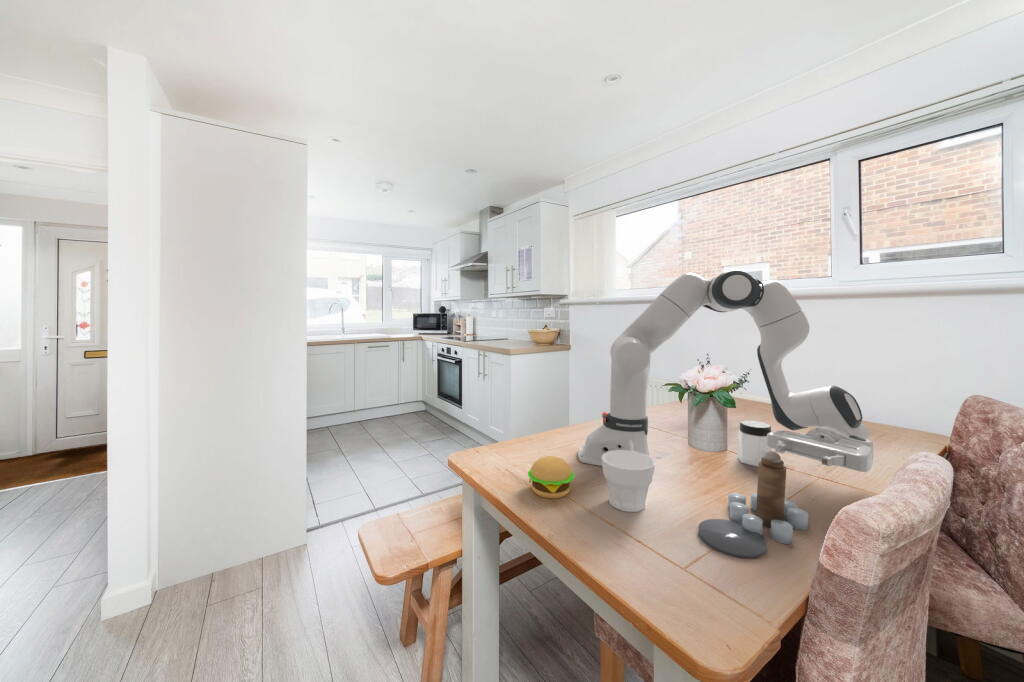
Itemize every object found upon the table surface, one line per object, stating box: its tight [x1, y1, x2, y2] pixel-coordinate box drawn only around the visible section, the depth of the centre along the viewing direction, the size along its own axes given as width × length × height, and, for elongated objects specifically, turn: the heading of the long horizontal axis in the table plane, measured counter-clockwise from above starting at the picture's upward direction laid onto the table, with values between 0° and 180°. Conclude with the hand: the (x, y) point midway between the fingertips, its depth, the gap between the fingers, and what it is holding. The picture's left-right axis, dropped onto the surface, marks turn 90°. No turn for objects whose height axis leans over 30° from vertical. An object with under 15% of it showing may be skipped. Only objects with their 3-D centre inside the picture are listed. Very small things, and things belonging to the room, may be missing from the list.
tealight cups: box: [727, 492, 809, 545], centre depth 83 cm, size 15×16×3 cm
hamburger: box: [527, 455, 575, 499], centre depth 98 cm, size 12×12×9 cm
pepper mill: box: [755, 450, 787, 530], centre depth 82 cm, size 5×5×16 cm
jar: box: [736, 419, 772, 468], centre depth 117 cm, size 9×8×12 cm
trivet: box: [697, 518, 768, 559], centre depth 77 cm, size 12×12×1 cm
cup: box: [601, 450, 656, 513], centre depth 91 cm, size 12×12×11 cm
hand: (801, 455), depth 88 cm, fingers open, 8 cm apart
